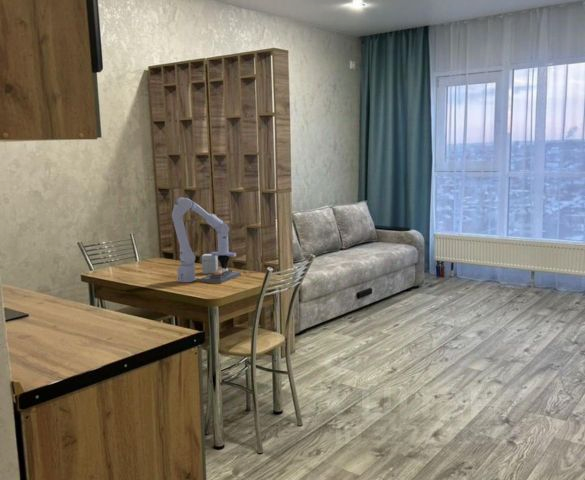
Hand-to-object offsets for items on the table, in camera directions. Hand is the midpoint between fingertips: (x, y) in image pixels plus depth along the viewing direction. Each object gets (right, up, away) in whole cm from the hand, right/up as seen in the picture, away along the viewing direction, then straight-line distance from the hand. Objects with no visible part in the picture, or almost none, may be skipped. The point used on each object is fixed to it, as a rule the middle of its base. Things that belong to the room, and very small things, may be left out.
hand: (224, 269), depth 313 cm
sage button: (0, -2, 0) cm, 2 cm away
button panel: (-1, -5, -6) cm, 8 cm away
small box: (-9, -3, +12) cm, 15 cm away
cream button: (-1, -1, -7) cm, 7 cm away
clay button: (-2, -2, -13) cm, 14 cm away
